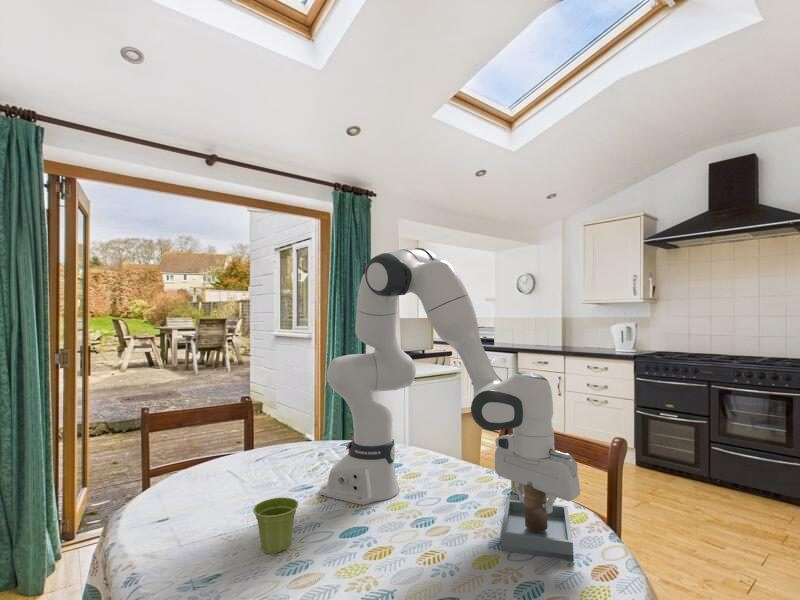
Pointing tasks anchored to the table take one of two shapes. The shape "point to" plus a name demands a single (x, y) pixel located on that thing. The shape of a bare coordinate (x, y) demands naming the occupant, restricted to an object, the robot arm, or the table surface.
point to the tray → (537, 533)
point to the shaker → (534, 508)
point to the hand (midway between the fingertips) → (535, 507)
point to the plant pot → (275, 523)
